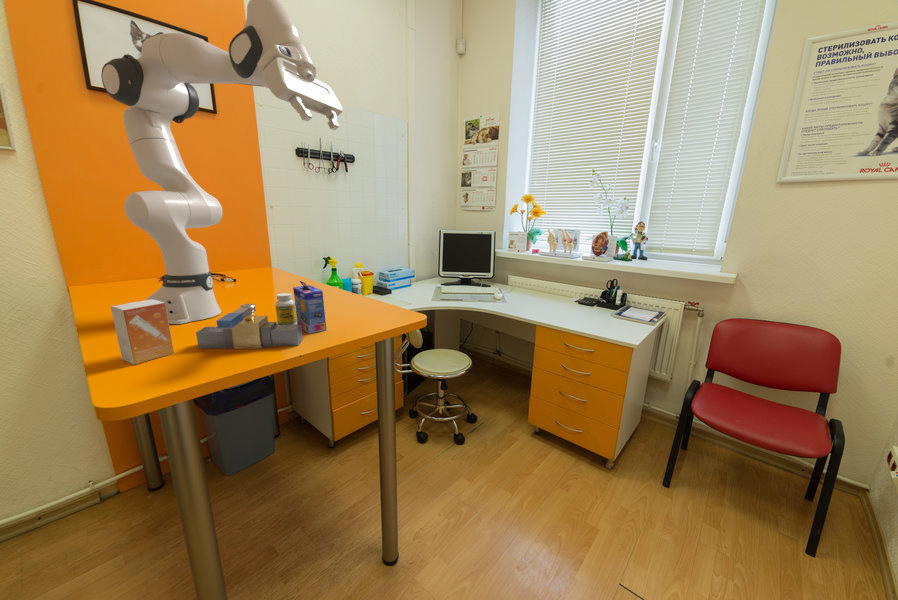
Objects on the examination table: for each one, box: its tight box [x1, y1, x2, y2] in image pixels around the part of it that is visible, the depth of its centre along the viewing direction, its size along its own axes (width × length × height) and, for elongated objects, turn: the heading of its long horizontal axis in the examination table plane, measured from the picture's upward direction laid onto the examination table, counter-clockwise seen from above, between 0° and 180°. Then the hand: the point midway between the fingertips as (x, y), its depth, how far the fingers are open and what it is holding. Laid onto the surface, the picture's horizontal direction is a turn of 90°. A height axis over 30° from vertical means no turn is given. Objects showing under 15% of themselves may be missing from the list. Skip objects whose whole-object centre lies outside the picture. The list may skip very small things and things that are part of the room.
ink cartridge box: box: [292, 280, 328, 334], centre depth 104 cm, size 10×6×14 cm, turn 43°
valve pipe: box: [195, 312, 304, 350], centre depth 92 cm, size 24×6×9 cm, turn 98°
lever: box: [215, 303, 257, 329], centre depth 85 cm, size 15×3×2 cm, turn 8°
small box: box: [110, 299, 175, 366], centre depth 83 cm, size 8×6×13 cm
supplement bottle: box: [274, 292, 297, 325], centre depth 107 cm, size 5×5×10 cm
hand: (322, 124), depth 83 cm, fingers open, 8 cm apart
